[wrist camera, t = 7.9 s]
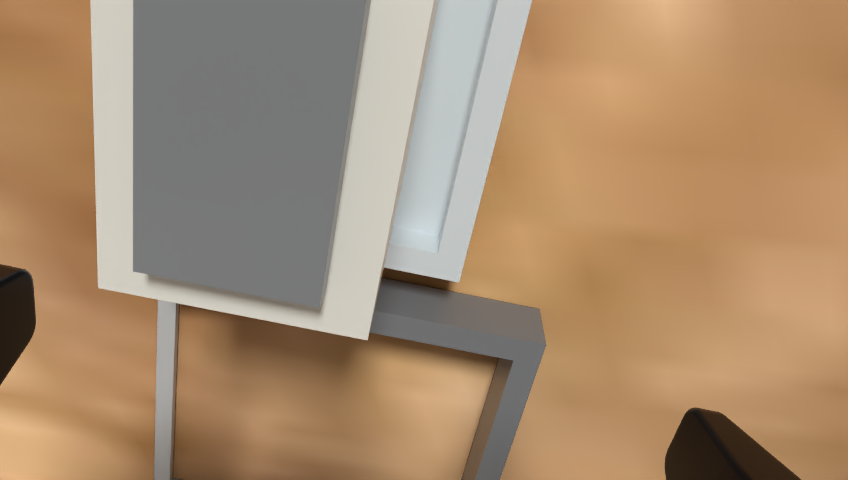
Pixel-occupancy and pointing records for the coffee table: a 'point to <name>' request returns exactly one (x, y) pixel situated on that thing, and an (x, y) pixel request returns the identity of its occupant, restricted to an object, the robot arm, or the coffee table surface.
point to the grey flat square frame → (422, 322)
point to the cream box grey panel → (254, 151)
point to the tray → (455, 133)
